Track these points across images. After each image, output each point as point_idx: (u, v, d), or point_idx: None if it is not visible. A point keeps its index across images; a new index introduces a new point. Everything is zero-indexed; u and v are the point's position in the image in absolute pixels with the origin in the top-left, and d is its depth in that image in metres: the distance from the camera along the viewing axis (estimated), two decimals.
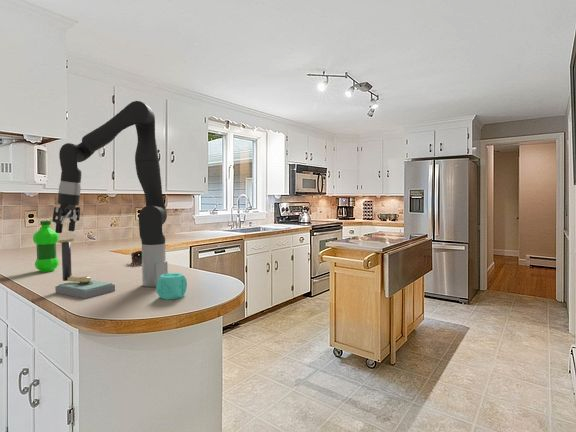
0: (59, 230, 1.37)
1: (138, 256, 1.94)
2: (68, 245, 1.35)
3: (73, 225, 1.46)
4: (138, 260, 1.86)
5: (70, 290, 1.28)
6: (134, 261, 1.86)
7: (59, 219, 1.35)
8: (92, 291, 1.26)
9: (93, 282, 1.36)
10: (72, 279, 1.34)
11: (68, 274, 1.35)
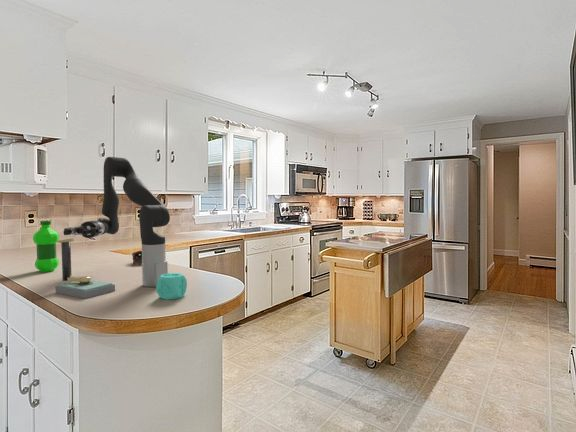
0: None
1: (139, 256, 1.94)
2: (68, 245, 1.34)
3: None
4: (139, 260, 1.86)
5: (70, 290, 1.28)
6: (135, 261, 1.87)
7: (66, 228, 1.47)
8: (92, 291, 1.26)
9: (93, 282, 1.36)
10: (72, 279, 1.34)
11: (68, 274, 1.35)
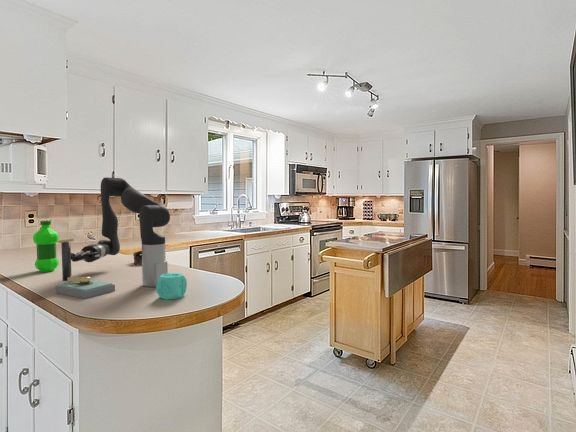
0: (72, 257, 1.43)
1: (140, 256, 1.94)
2: (68, 245, 1.34)
3: None
4: (140, 260, 1.87)
5: (70, 290, 1.28)
6: (136, 261, 1.87)
7: (74, 254, 1.47)
8: (92, 291, 1.26)
9: (93, 282, 1.36)
10: (72, 279, 1.34)
11: (68, 274, 1.35)
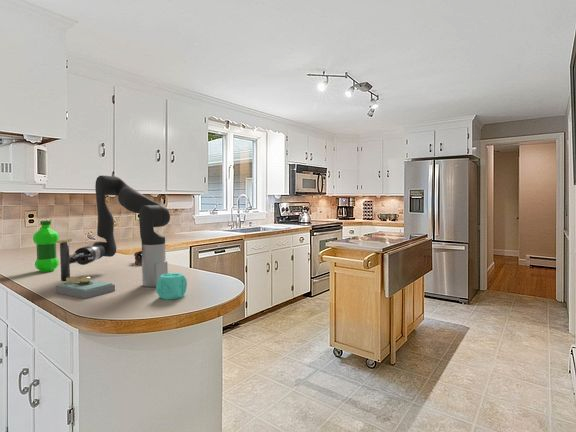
0: None
1: (141, 256, 1.95)
2: (67, 245, 1.34)
3: None
4: (141, 260, 1.87)
5: (70, 290, 1.28)
6: (137, 261, 1.87)
7: None
8: (92, 291, 1.26)
9: (93, 282, 1.36)
10: (71, 279, 1.33)
11: (67, 274, 1.34)
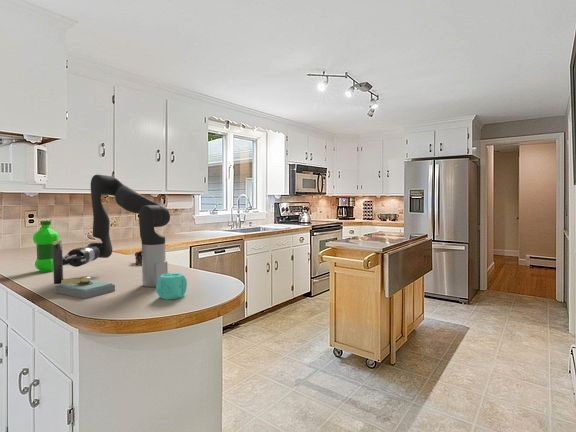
0: None
1: None
2: (61, 247, 1.30)
3: None
4: None
5: (70, 290, 1.28)
6: (138, 261, 1.88)
7: None
8: (92, 291, 1.26)
9: (93, 282, 1.36)
10: (68, 281, 1.31)
11: (62, 276, 1.30)
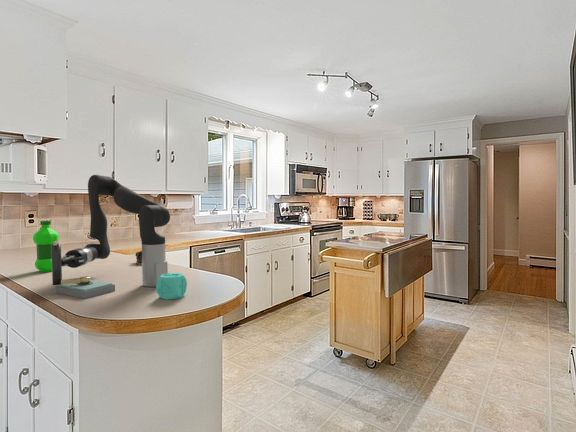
0: None
1: None
2: (60, 247, 1.29)
3: None
4: None
5: (70, 290, 1.28)
6: (139, 260, 1.88)
7: None
8: (92, 291, 1.26)
9: (93, 282, 1.36)
10: (68, 281, 1.30)
11: (61, 277, 1.29)
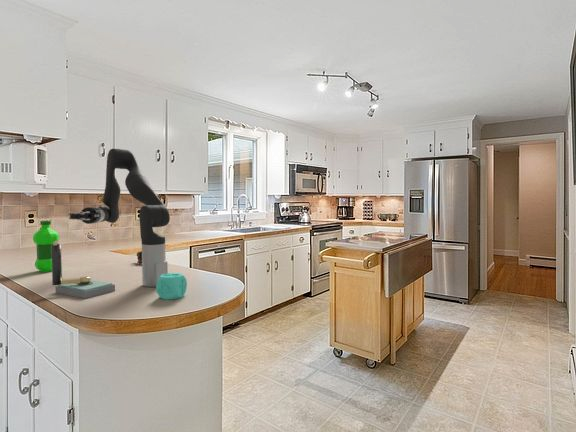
0: None
1: None
2: (60, 247, 1.29)
3: None
4: None
5: (70, 290, 1.28)
6: (140, 260, 1.88)
7: (73, 213, 1.48)
8: (92, 291, 1.26)
9: (93, 282, 1.36)
10: (68, 281, 1.30)
11: (61, 277, 1.29)
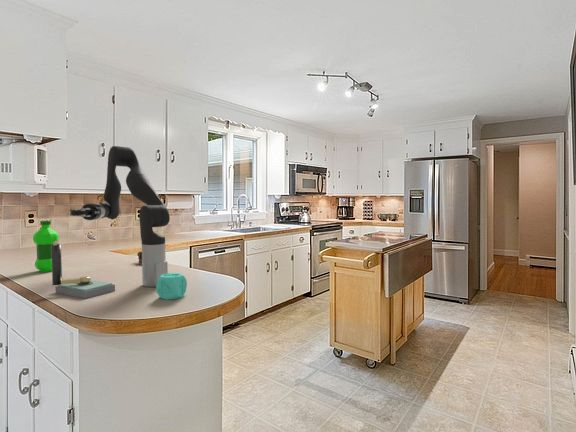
0: None
1: None
2: (60, 247, 1.29)
3: None
4: None
5: (70, 290, 1.28)
6: (141, 260, 1.89)
7: None
8: (92, 291, 1.26)
9: (93, 282, 1.36)
10: (68, 281, 1.30)
11: (61, 277, 1.29)
